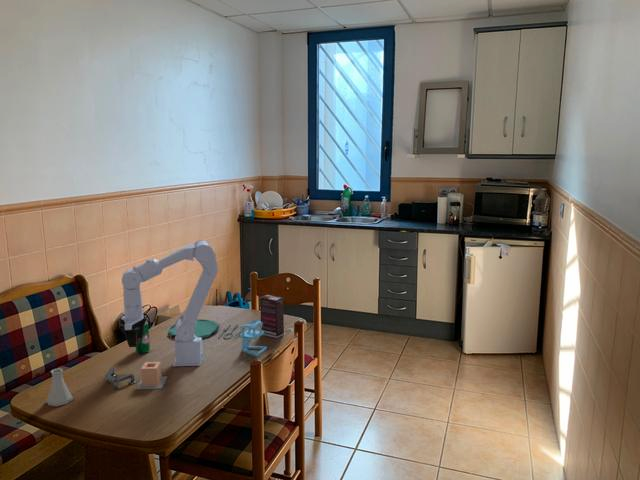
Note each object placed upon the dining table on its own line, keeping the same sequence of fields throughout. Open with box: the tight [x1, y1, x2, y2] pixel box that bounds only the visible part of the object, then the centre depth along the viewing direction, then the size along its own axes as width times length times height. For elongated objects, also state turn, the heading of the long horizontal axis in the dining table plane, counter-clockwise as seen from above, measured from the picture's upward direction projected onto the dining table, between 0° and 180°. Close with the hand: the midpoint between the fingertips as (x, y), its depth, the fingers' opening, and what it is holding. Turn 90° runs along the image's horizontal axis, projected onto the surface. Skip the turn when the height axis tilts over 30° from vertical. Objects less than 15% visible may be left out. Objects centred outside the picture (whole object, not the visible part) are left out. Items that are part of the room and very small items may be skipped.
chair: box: [239, 319, 268, 358], centre depth 191 cm, size 8×8×12 cm
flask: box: [46, 367, 74, 408], centre depth 154 cm, size 7×7×10 cm
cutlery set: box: [167, 319, 245, 341], centre depth 211 cm, size 20×30×2 cm, turn 82°
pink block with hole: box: [140, 361, 163, 386], centre depth 166 cm, size 5×5×6 cm
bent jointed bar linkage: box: [104, 367, 138, 390], centre depth 168 cm, size 10×11×3 cm
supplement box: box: [259, 294, 285, 339], centre depth 207 cm, size 9×5×16 cm, turn 58°
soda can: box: [134, 320, 151, 355], centre depth 190 cm, size 5×5×12 cm
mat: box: [135, 375, 168, 390], centre depth 167 cm, size 8×8×1 cm
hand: (135, 342), depth 176 cm, fingers open, 7 cm apart
